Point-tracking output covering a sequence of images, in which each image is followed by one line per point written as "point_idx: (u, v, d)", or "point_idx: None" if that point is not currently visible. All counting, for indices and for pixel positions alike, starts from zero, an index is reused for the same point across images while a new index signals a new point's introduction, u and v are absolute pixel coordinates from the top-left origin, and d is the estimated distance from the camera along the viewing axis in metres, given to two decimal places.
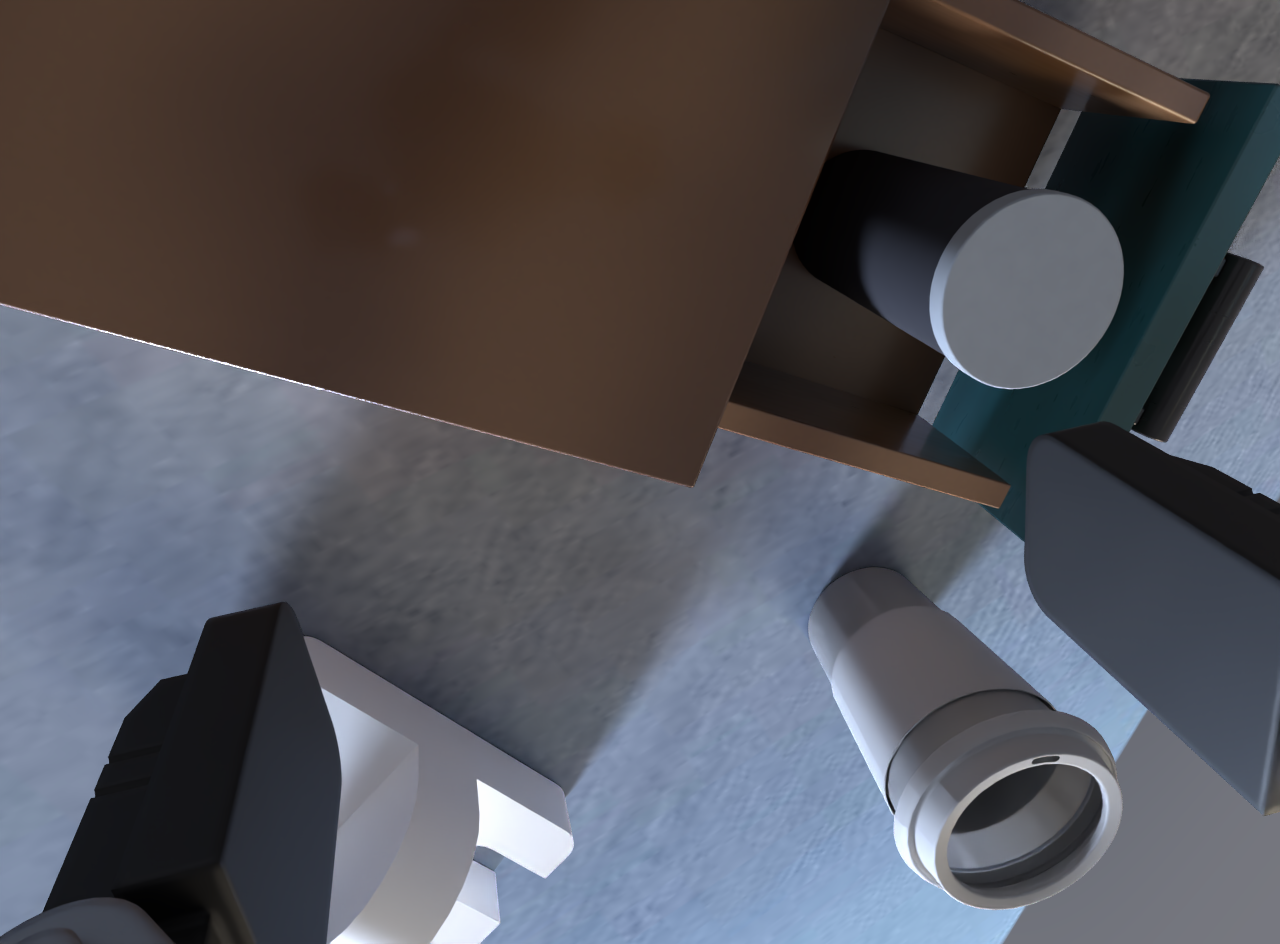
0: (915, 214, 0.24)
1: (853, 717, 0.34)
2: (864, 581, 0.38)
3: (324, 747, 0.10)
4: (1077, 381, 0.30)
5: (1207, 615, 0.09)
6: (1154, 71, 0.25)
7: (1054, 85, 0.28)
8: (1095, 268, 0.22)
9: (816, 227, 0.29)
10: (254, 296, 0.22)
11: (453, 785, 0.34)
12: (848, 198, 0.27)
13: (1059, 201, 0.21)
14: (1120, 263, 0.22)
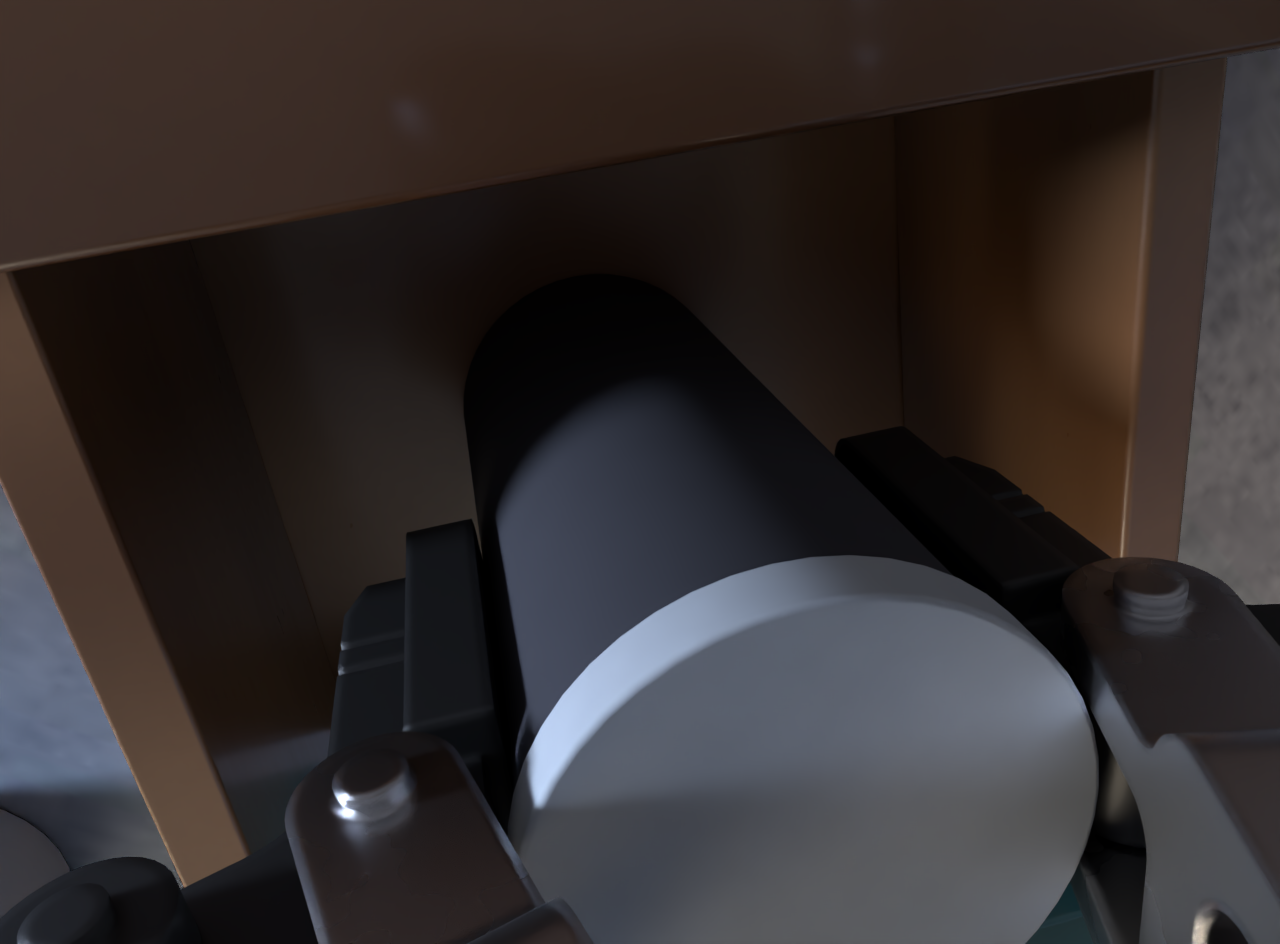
0: (766, 447, 0.09)
1: None
2: (1, 851, 0.19)
3: None
4: None
5: None
6: None
7: None
8: (950, 938, 0.08)
9: (558, 322, 0.13)
10: None
11: None
12: (654, 333, 0.12)
13: (1075, 747, 0.07)
14: None
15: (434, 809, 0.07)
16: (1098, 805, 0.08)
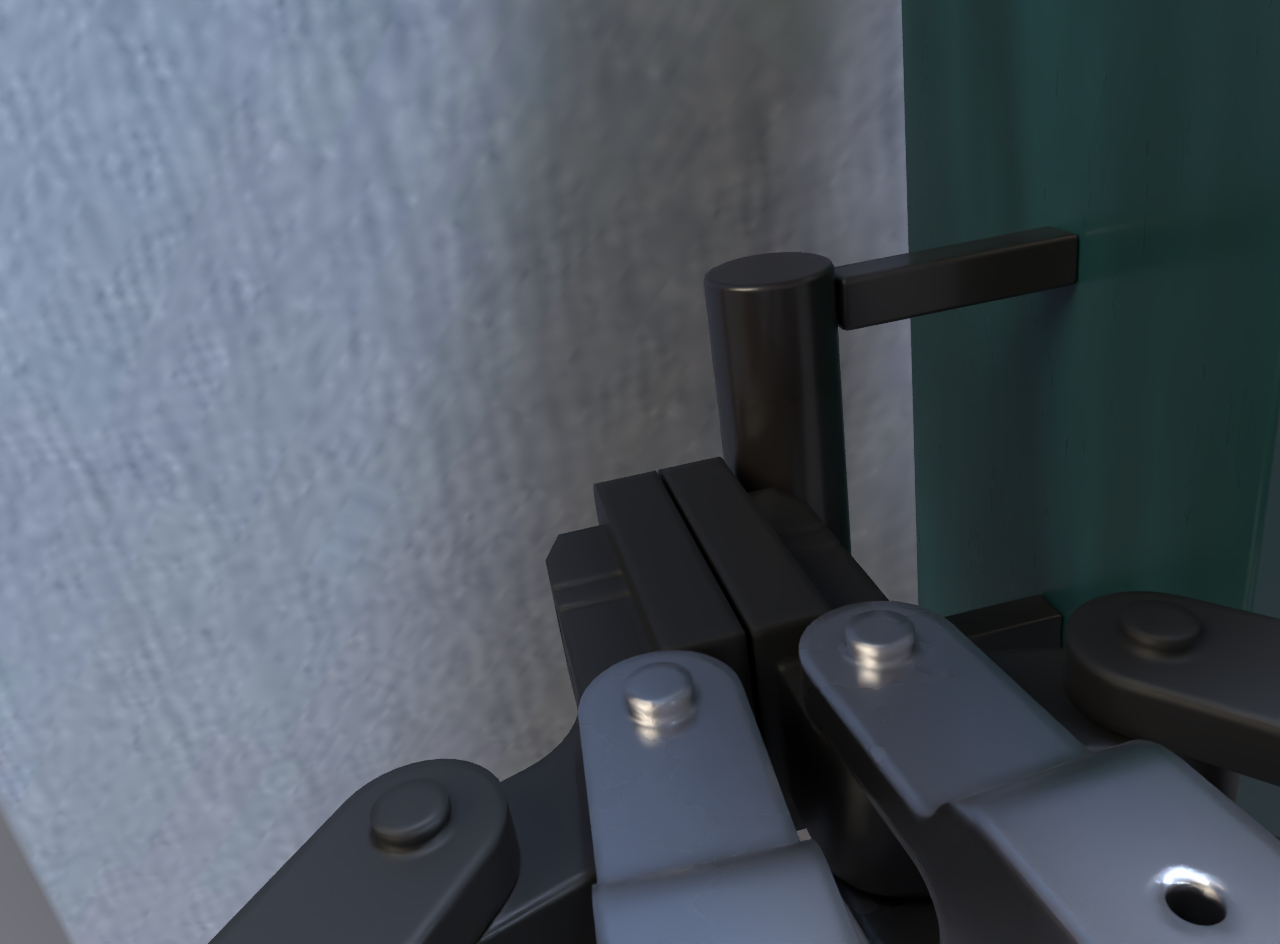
0: None
1: None
2: None
3: None
4: None
5: None
6: None
7: None
8: None
9: None
10: None
11: None
12: None
13: None
14: None
15: (727, 715, 0.07)
16: (841, 851, 0.08)
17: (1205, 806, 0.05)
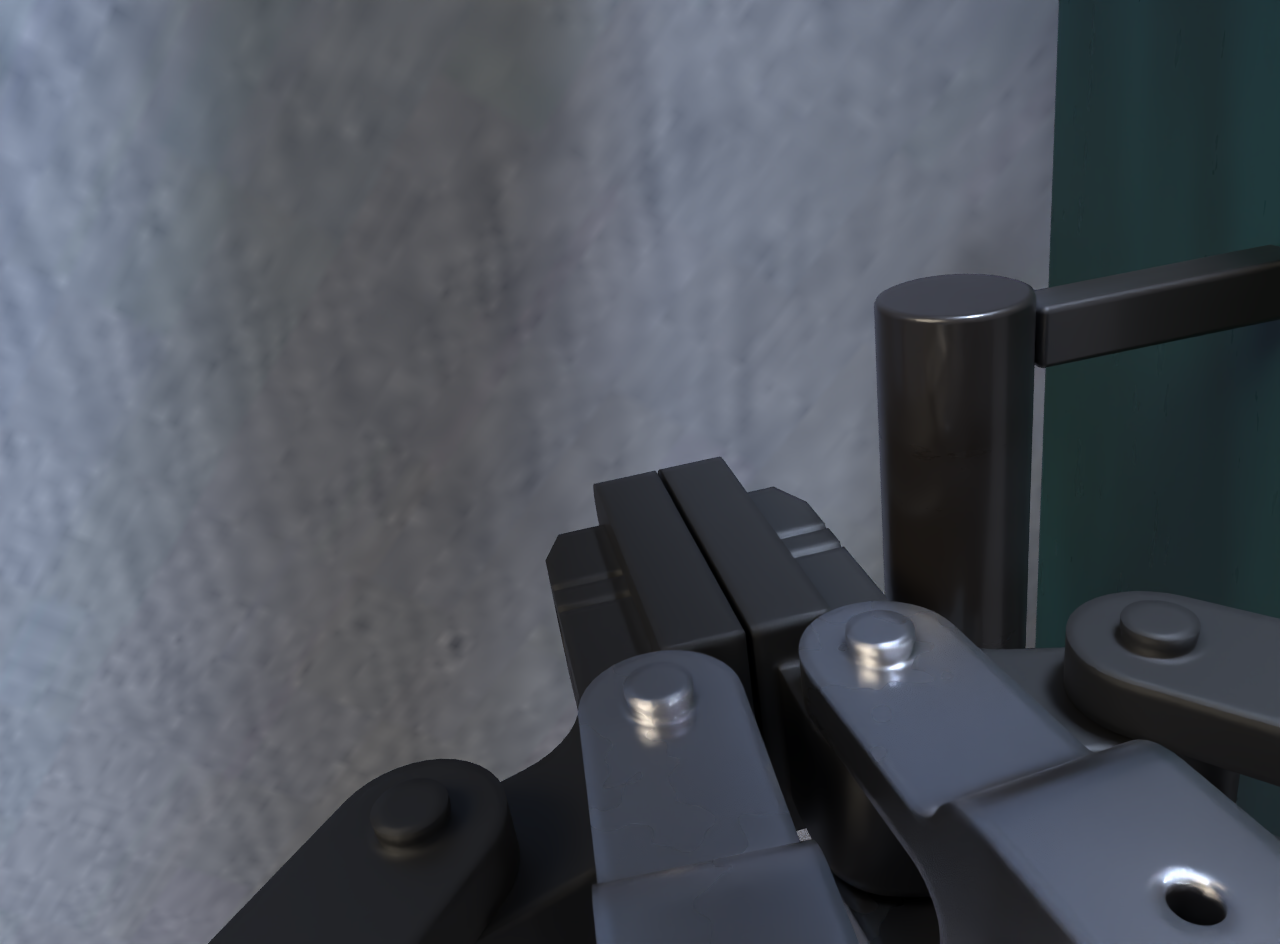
0: None
1: None
2: None
3: None
4: None
5: None
6: None
7: None
8: None
9: None
10: None
11: None
12: None
13: None
14: None
15: (727, 716, 0.07)
16: (842, 852, 0.08)
17: (1205, 806, 0.05)
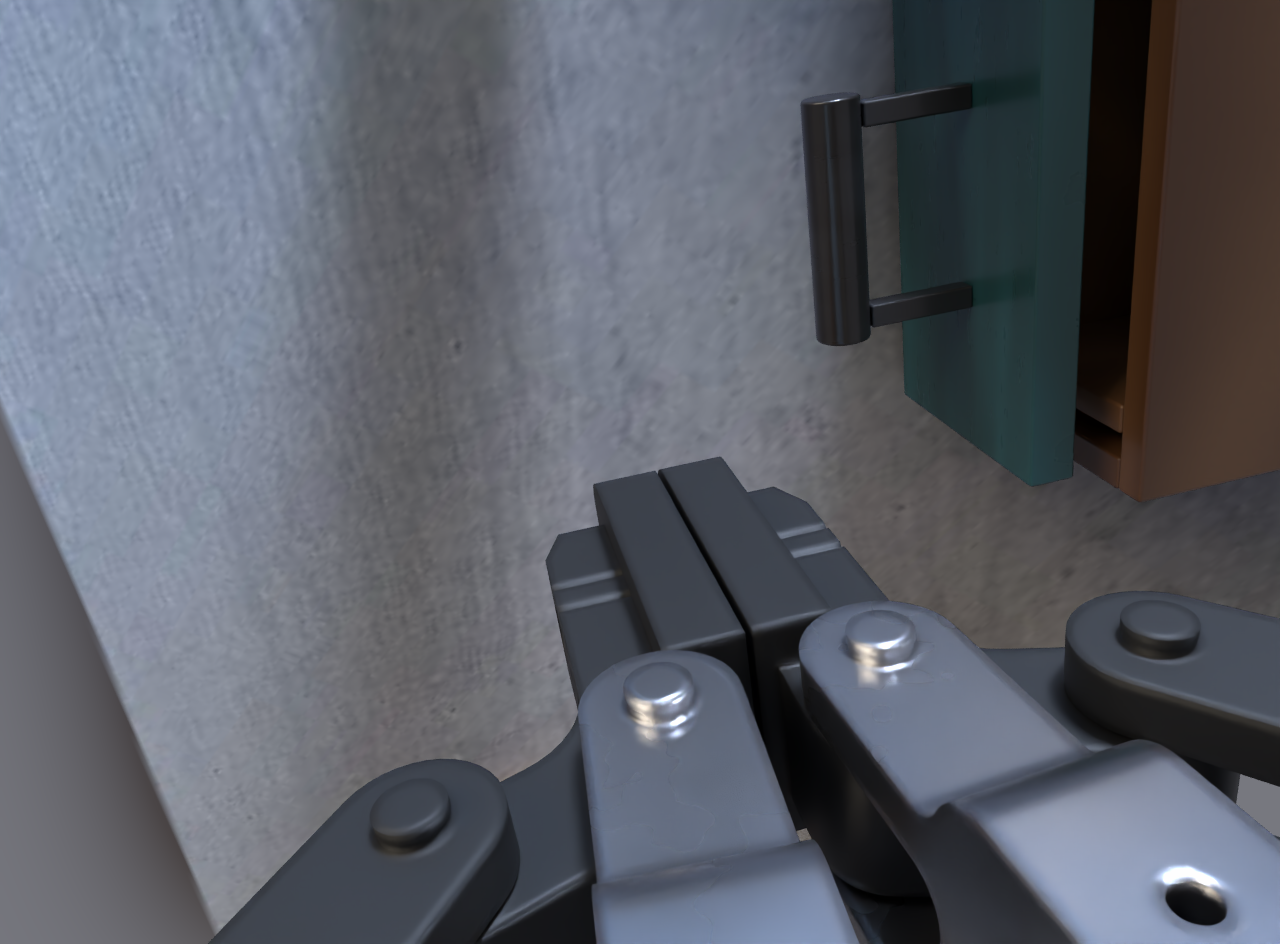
0: None
1: None
2: None
3: None
4: None
5: None
6: None
7: None
8: None
9: None
10: None
11: None
12: None
13: None
14: None
15: (727, 715, 0.07)
16: (842, 852, 0.08)
17: (1206, 805, 0.05)
